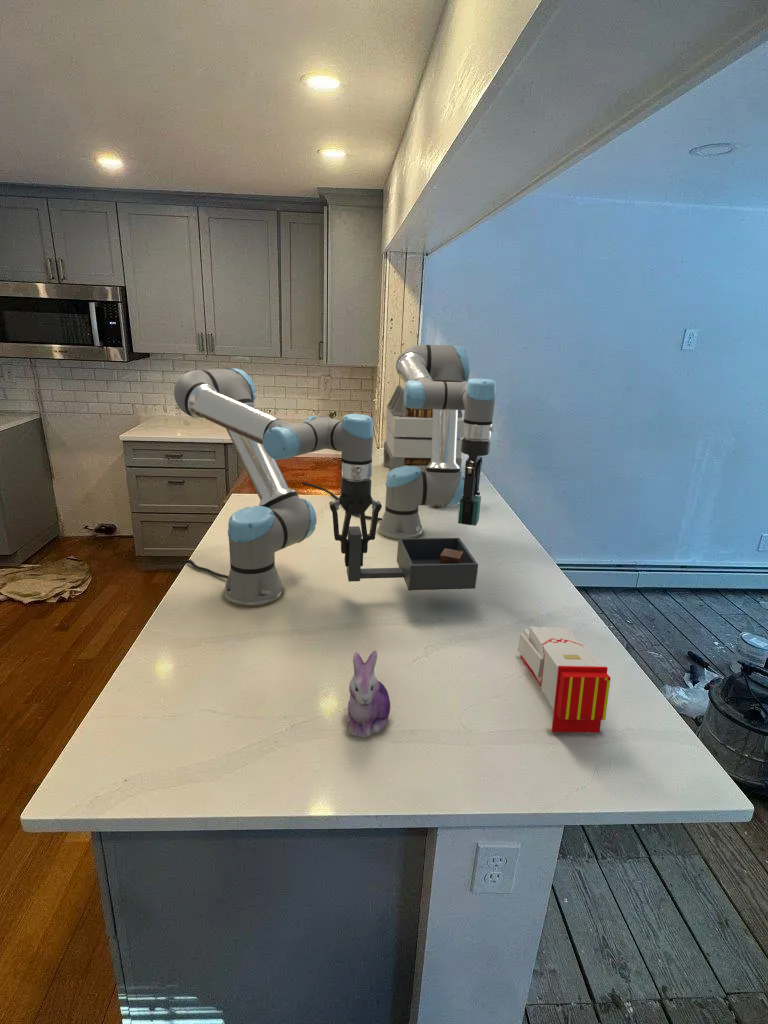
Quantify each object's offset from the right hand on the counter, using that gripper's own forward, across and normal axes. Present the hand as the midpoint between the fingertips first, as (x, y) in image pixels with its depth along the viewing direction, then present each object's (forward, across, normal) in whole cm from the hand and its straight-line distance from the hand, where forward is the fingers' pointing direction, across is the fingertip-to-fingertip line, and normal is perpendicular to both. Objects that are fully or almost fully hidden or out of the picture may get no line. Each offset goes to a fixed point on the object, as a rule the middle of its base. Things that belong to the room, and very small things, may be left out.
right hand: (468, 520), depth 158 cm
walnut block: (+12, -14, +2) cm, 18 cm away
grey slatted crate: (+19, +110, +41) cm, 119 cm away
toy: (+20, -40, -27) cm, 53 cm away
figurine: (+20, -64, +6) cm, 68 cm away
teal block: (0, 0, 0) cm, 0 cm away
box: (+12, -15, +13) cm, 23 cm away
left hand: (+9, -22, +26) cm, 35 cm away
